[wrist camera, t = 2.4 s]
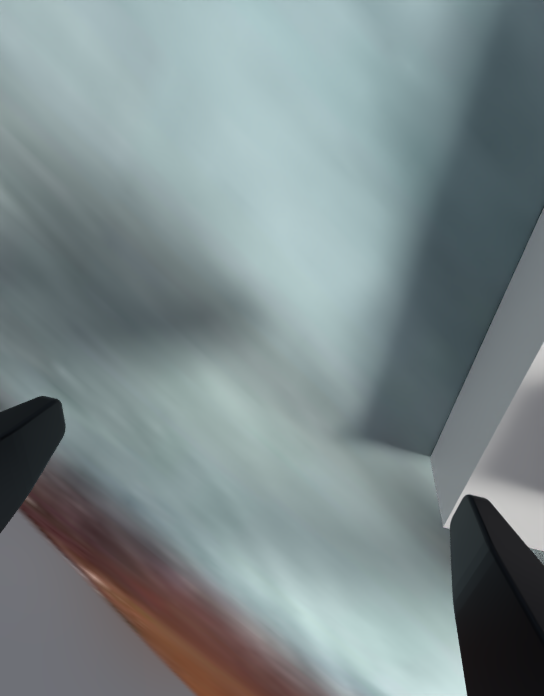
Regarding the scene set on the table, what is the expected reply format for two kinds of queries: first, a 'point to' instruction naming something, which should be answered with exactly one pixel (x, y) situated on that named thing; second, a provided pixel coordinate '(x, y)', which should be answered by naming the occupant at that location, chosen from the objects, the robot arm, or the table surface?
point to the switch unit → (502, 411)
